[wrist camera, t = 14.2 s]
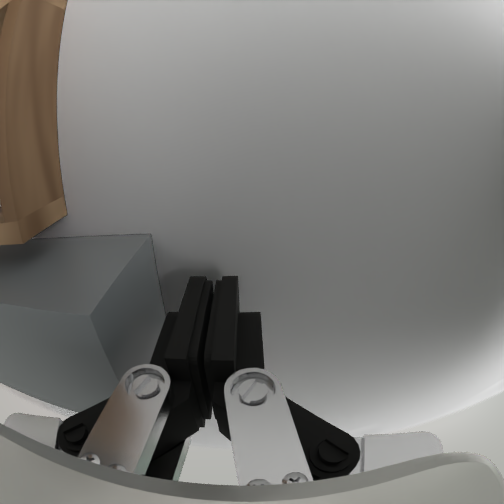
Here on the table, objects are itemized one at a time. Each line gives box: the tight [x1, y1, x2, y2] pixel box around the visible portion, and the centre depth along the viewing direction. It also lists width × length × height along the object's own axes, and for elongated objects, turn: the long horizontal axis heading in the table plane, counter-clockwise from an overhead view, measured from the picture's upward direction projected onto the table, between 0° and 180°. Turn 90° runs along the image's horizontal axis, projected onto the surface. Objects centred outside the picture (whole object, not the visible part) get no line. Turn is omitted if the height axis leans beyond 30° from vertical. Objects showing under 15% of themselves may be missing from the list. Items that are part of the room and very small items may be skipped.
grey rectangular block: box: [0, 234, 166, 412], centre depth 9 cm, size 9×5×5 cm, turn 90°
